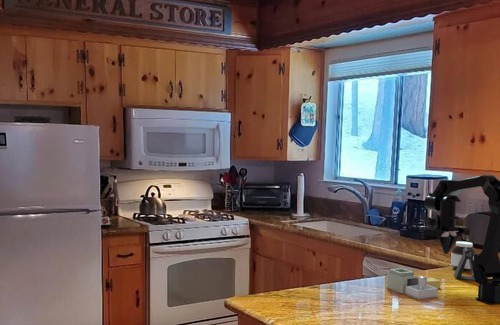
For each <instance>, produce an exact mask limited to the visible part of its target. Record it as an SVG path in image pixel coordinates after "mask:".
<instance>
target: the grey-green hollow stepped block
mask: <svg viewBox="0 0 500 325" xmlns="http://www.w3.org/2000/svg"><path fill="white" fill-rule="evenodd" d="M386 277H387V282H386V283H387V284H386V288H387V289H389V290H392V291H395V292H397V293H400V294H406V286H413V285H418V277H417V275H415V272H414V271H411V270H409V269H405V268H401V267H400V268H390V269H389V271H387V276H386Z"/></svg>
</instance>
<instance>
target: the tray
mask: <svg viewBox="0 0 500 325" xmlns="http://www.w3.org/2000/svg"><path fill="white" fill-rule="evenodd" d="M417 288H418V285H413V286H406V293H405V296H408V297H410V298H413V299H415V300H424V299H425V300H426V299H434V298H438V296H439V288H435V287H432V286H429V285H427V289H424V290H417Z"/></svg>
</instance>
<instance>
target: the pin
mask: <svg viewBox="0 0 500 325" xmlns="http://www.w3.org/2000/svg"><path fill="white" fill-rule="evenodd" d="M417 278H418V288H417V290H424V289H427V278H428V277H427V276H424V275H418V277H417Z"/></svg>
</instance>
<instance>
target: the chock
mask: <svg viewBox="0 0 500 325" xmlns="http://www.w3.org/2000/svg"><path fill="white" fill-rule="evenodd" d="M427 285H429V286H432V287H435V288H438V289H441V280H439V279H437V278H434V277H427Z"/></svg>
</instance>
